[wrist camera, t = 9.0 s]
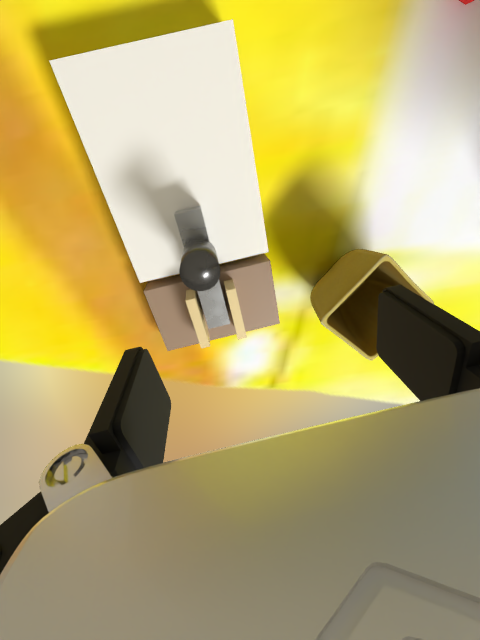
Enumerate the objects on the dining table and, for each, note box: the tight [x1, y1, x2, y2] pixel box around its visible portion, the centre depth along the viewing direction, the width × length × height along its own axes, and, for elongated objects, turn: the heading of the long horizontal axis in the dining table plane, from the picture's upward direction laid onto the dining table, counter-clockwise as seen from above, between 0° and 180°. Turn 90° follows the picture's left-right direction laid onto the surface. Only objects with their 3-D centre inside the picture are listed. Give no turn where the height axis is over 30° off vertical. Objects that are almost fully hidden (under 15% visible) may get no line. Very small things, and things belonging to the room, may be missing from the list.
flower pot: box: [311, 249, 434, 360], centre depth 32 cm, size 9×9×9 cm
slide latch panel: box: [49, 19, 280, 351], centre depth 27 cm, size 14×27×6 cm, turn 12°
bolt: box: [174, 205, 230, 329], centre depth 26 cm, size 3×12×7 cm, turn 11°
